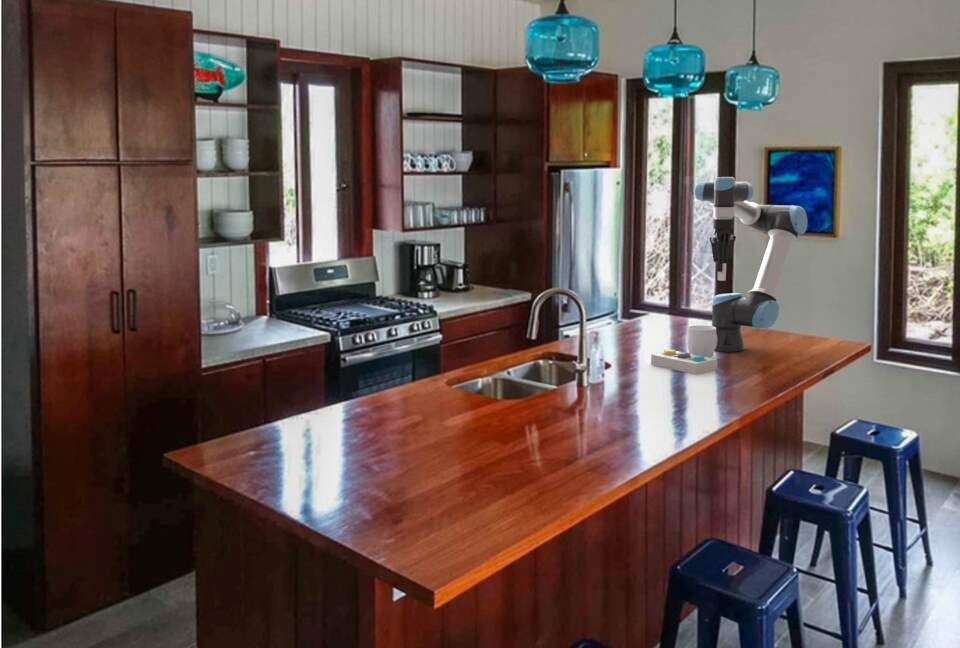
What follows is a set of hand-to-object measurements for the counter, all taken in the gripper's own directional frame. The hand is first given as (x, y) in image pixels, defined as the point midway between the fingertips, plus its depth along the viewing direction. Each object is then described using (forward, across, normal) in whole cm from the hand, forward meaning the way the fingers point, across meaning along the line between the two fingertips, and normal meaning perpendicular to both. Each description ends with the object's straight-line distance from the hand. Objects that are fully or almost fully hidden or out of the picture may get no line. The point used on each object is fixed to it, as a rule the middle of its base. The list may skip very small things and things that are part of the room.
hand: (721, 280), depth 341 cm
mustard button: (+31, +16, -11) cm, 37 cm away
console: (+32, +16, -4) cm, 36 cm away
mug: (+33, 0, -8) cm, 34 cm away
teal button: (+31, +16, +3) cm, 35 cm away
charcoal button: (+31, +16, -4) cm, 35 cm away
